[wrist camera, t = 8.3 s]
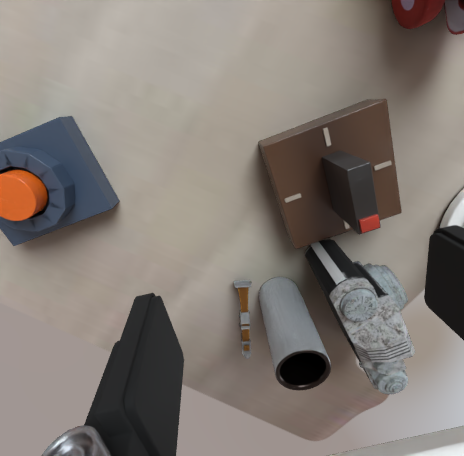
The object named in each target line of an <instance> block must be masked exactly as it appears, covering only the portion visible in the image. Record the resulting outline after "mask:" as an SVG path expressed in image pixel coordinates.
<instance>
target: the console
mask: <svg viewBox="0 0 464 456" xmlns="http://www.w3.org/2000/svg"><path fill="white" fill-rule="evenodd" d="M258 143H259V146H260V149H261V152H262V155H263V159H264V162H265V165H266V168H267V171H268V174H269V177H270V180H271V184H272V187H273V190H274V193H275V196H276V199H277V202H278V205H279V208H280V212H281V215H282V218H283V221H284V224H285V227H286V230H287V233H288V236H289V238H290V240H291V242H292V244H293V245H294V247H295V249H298V248H300V247H303V246H306V245H309V244H312V243H315V242H318V241H321V240H324V239H327V238H330V237H333V236H335V235H338V234H341V233H344V232H347V231H350V230H353V228H352V227H351V226H350V225H348V224H347V223H346V222H345V221H344V220H343V219H342V218H341V217H340V216H339V215H338V214H337V213H336V212H334V210H333V205H332V201H331V197H330V192H329V188H328V183H327V179H326V174H325V170H324V165H323V161H322V157H324V156H326V155H329V154H332V153H335V152H337V151H343V152H346V153H348V154H351V155H353V156H356V157H358V158H361V159H364V160H366V161H369V162H370V163H371V169H372V175H373V182H374V188H375V194H376V201H377V207H378V214H379V220H382V219H385V218H388V217H391V216H394V215H397V214H399V213H401V205H400V197H399V190H398V182H397V175H396V167H395V160H394V152H393V145H392V137H391V130H390V122H389V114H388V107H387V100H386V99H369V100H365V101H362V102H360V103H357V104H355V105H352V106H349V107H347V108H344V109H342V110H339V111H337V112H334V113H331V114H329V115H326V116H324V117H321V118H318V119H316V120H313V121H311V122H308V123H305V124H303V125H300V126H298V127H295V128H293V129H290V130H287V131H285V132H282V133H280V134H277V135H274V136H272V137H269V138H267V139H264V140H261V141H259V142H258Z"/></svg>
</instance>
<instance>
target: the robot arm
mask: <svg viewBox="0 0 464 456" xmlns="http://www.w3.org/2000/svg"><path fill="white" fill-rule="evenodd" d="M424 298H425V302H426V304H427V306H428V307H429V308H430V309H431V310H432V311H433V312H434V313H435V314H436V315H437V316H438V317H439V318H441V319H442V320H443V321H444V322H445V323H446V324H447V325H448V326H449V327H450V328H451V329H452V330H454V331H455V333H457V334H458V335H459V336H460V337H461V338H462V339H463V340H464V189H463V190H462V191H461V192H460V193H459V194H458V195H457V196H456V197H455V199H454V200H453V201H452V202H451V204H450V206H449V207H448V209H447V211H446V212H445V214H444V217H443V219H442V222H441V224H440V228H439V229H436V230H435V231H434V234H433V235H431V236H430V241H429V252H428V263H427V274H426V285H425V296H424ZM183 365H184V358H183V352H182V349H181V347H180V344H179V342H178V339H177V337H176V334H175V331H174V329H173V326H172V324H171V321H170V319H169V316H168V314H167V311H166V308H165V306H164V303H163V301H162V298H161V297H160V296H155V294H154V293H150V294H146V295H141V296H137V297H136V298H135V300H134V303H133V305H132V308H131V311H130V314H129V317H128V319H127V322H126V325H125V328H124V331H123V333H122V336H121V339H120V341H118V342H116V343H115V345H114V347H113V349H112V352H111V355H110V358H109V360H108V363H107V365H106V368H105V371H104V373H103V377H102V379H101V381H100V384H99V387H98V389H97V392H96V395H95V398H94V401H93V403H92V406H91V408H90V411H89V414H88V416H87V419H86V422H85V424H84V426H78V427H75V428H73V429H70V430H68V431H67V432H65V433H64V434H62V435H61V436H59V437H58V438H57V439H56V440H55V441H54V442H53V443H52V444H50V446H48V448H47V449H46V450H45V451H44V453H43V454H42V456H176V448H177V437H178V425H179V413H180V400H181V389H182V377H183ZM329 456H464V426H461V427H456V428H451V429H447V430H442V431H438V432H433V433H429V434H424V435H419V436H415V437H410V438H405V439H401V440H397V441H392V442H387V443H383V444H379V445H373V446H369V447H364V448H360V449H356V450H351V451H346V452H342V453H337V454H333V455H329Z"/></svg>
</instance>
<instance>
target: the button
mask: <svg viewBox="0 0 464 456" xmlns="http://www.w3.org/2000/svg"><path fill="white" fill-rule="evenodd" d="M47 201H48V193H47V190H46V187H45V186H44V184H43V183H42V181H41V180H40V179H39V178H38V177H36V176H35V175H34V174H32V173H30V172H27V171H24V170H11V171H8V172H5V173H2V174H0V216H1V217H3V218H5V219H8V220H12V221H22V220H25V219H28V218H29V217H31V216H33V215H34V214H36V213H37V212H39V211H41V210H42V209H43V208H44V207H45V206H46V204H47Z"/></svg>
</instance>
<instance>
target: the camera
mask: <svg viewBox="0 0 464 456" xmlns="http://www.w3.org/2000/svg"><path fill="white" fill-rule="evenodd" d="M310 245H311V246H310V247H309V248H308V249H307V250H306V252H305V256H306V258H307V260H308V262H309V264H310V266H311V268H312V270H313V272H314V274H315V276H316V278H317V281H318V283H319V285H320V287H321V289H322V291H323V293H324V295H325V297H326V299H327V301H328V303H329V305H330V307H331V309H332V311H333V313H334V315H335V317H336V319H337V321H338V323H339V325H340V327H341V329H342V331H343V333H344V334H345V336H346V338H347V340H348V342H349V343H350V345H351V347H352V349H353V351H354V353H355V354H356V356H357V358H358V360H359V362H360V363H359V365H360V367H362V368H363V369H364V371H365V372H366V374H367V376H368V378H369V380H370V381H371V383H372V385H373V387H374V389H378V390H379V391H380V392H382V393H384V394H395V393H398V392H400V391H402V390H403V389H404V388H405V387H406V386H407V383H408V378H407V375H406V373H405V369H406V366H405V364H404V361H403V359H405V358H408V357H412V356H413V354H414V353H415V350H414V347H413V344H412V341H411V339H410V336H409V333H408V331H407V328H406V326H405V323H404V320H403V318H402V315H401V311H400V309H403V308H404V304H406V302H408V298H407V295H406V293H405V290H404V288H403V287H402V285H401V283H400V282H399V280H398V279H397V277H396V276H395V275H394V273H393V272H392V271H391V270H390V269H389V268H388V267H387V266H385V265H384V266H378V265H374V266H373V265H371V264H366V265H364V266H362V264H361V263H360V262H359V261H357V262H353V263H352V261H351V260H350V259H349V258H348V257H347V255H346V254H345V253H344V252H343V251H342V250H341V248H340V247H339V246H338V245H337V244H336V243H335V241H334V240H330V239H324V240H321V241H318V242H315V243H312V244H310Z"/></svg>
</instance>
